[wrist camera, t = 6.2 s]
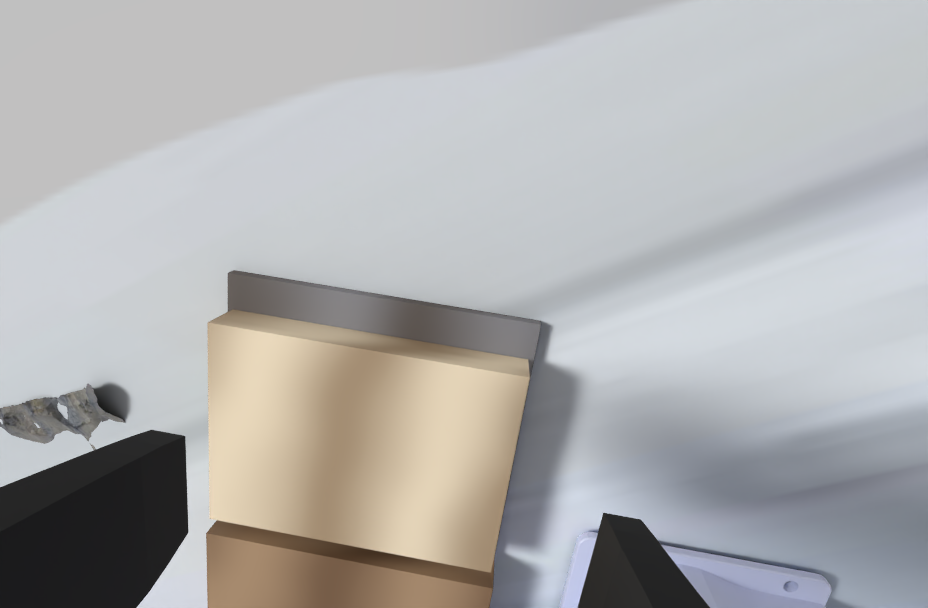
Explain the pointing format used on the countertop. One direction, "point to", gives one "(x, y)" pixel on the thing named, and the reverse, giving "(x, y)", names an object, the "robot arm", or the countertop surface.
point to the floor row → (332, 564)
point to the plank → (361, 437)
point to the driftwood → (55, 416)
